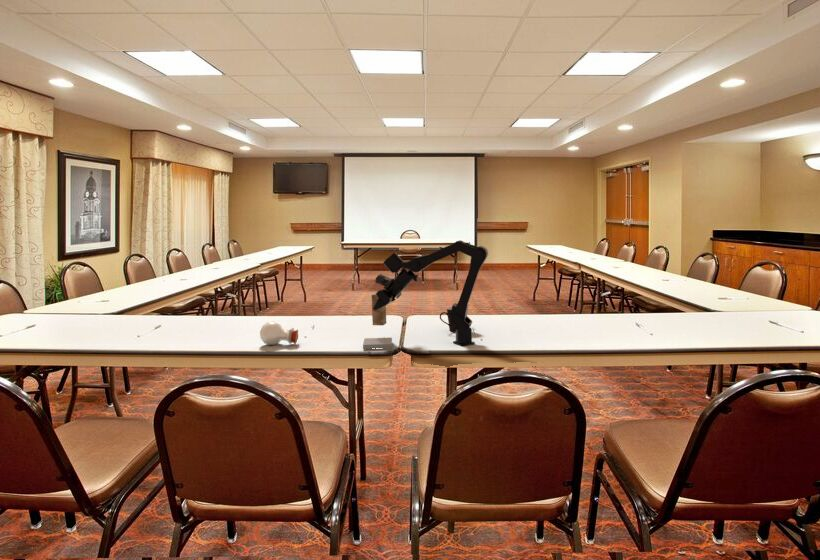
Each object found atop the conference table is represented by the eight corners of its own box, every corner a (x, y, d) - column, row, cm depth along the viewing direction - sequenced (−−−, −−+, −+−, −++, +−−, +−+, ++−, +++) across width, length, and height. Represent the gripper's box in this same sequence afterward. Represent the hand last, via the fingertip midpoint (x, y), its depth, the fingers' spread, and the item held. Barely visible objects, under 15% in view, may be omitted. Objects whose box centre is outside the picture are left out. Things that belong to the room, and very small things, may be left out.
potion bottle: (260, 347, 217) (295, 351, 216) (253, 338, 209) (290, 342, 207) (266, 326, 222) (301, 330, 220) (260, 316, 213) (296, 321, 212)
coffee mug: (466, 328, 237) (466, 306, 236) (466, 332, 228) (466, 309, 227) (440, 328, 238) (440, 306, 237) (439, 332, 229) (439, 310, 228)
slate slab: (391, 342, 214) (391, 337, 214) (391, 349, 203) (391, 343, 203) (364, 343, 214) (364, 338, 213) (363, 349, 203) (362, 344, 202)
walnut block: (386, 323, 218) (385, 293, 217) (383, 325, 214) (382, 294, 213) (376, 323, 219) (374, 293, 218) (372, 325, 215) (371, 294, 214)
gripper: (393, 265, 222) (369, 291, 226) (380, 269, 204) (354, 297, 208) (412, 284, 221) (387, 309, 225) (400, 290, 203) (374, 318, 207)
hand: (375, 308), depth 216 cm, fingers closed on walnut block, 4 cm apart
